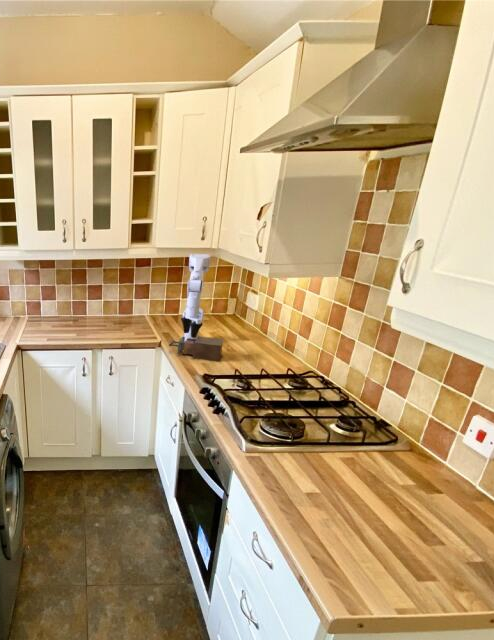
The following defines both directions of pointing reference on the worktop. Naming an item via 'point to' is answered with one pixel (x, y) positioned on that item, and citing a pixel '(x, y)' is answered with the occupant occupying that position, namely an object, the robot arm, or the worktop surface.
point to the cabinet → (208, 348)
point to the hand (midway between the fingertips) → (189, 335)
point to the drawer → (187, 346)
